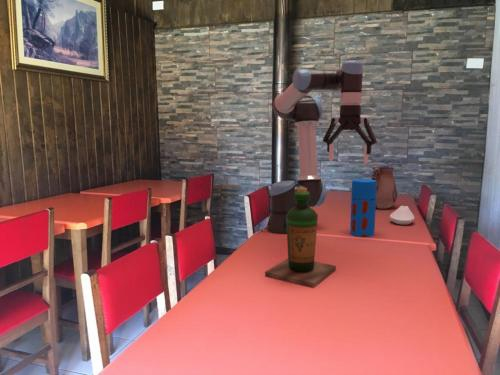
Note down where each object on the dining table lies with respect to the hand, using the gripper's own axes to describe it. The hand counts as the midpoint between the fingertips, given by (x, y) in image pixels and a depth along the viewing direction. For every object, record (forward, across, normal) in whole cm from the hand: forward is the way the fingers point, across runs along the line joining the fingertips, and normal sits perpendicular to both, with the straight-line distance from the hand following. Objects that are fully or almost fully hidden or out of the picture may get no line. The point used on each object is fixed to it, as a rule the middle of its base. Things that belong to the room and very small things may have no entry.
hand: (347, 162), depth 150 cm
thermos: (+37, +3, -31) cm, 48 cm away
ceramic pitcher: (+37, +12, -92) cm, 100 cm away
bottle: (+35, +5, +28) cm, 45 cm away
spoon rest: (+37, -6, -67) cm, 77 cm away
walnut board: (+36, +5, +28) cm, 46 cm away
